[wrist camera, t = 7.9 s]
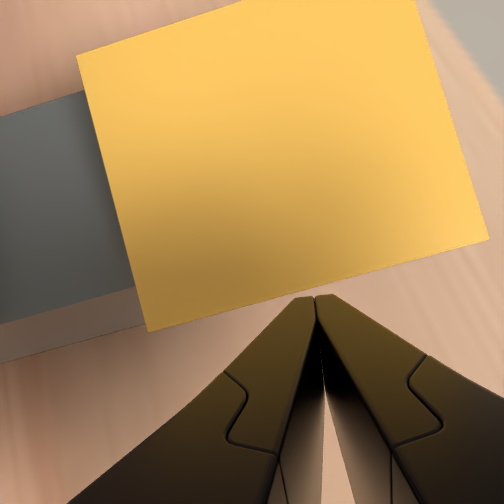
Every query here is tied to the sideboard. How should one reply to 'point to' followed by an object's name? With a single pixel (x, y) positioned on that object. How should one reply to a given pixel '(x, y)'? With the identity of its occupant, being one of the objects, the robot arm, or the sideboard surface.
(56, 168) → the dark grey block
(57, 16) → the sideboard surface
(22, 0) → the sideboard surface
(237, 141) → the yellow flat slab
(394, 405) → the robot arm
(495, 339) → the sideboard surface
